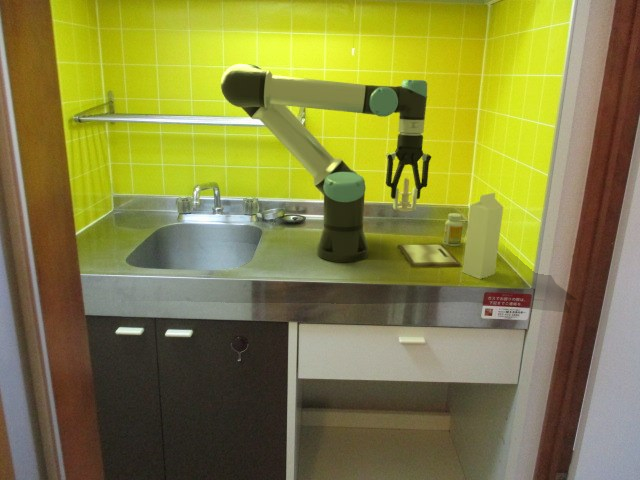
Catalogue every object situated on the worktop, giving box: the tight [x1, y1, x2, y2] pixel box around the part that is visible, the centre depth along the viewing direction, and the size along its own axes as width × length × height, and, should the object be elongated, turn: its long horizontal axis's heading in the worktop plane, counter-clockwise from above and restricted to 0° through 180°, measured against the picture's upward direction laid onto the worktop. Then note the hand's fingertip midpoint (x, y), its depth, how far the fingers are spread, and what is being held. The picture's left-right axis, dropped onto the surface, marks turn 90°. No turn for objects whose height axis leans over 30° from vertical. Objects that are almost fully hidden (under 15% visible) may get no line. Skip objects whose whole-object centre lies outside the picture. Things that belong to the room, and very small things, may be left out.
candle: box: [396, 177, 414, 213], centre depth 154 cm, size 5×5×10 cm
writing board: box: [397, 243, 462, 268], centre depth 146 cm, size 14×17×1 cm
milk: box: [462, 192, 504, 280], centre depth 130 cm, size 6×6×22 cm
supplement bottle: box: [442, 212, 464, 247], centre depth 156 cm, size 5×5×10 cm
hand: (404, 208), depth 156 cm, fingers closed on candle, 5 cm apart
